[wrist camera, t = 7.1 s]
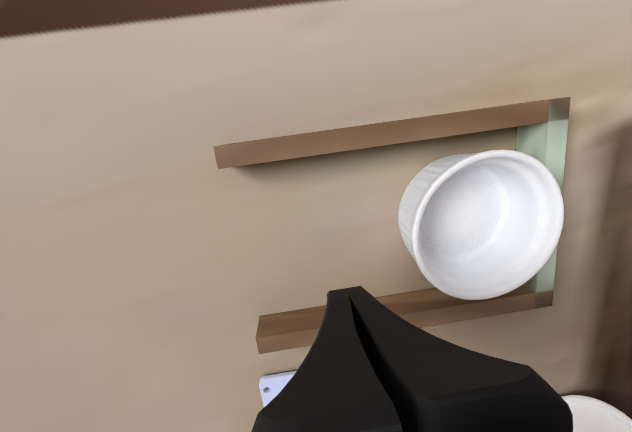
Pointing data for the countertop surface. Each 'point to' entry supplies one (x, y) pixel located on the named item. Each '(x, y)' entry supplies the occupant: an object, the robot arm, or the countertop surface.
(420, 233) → the ramekin
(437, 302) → the channel
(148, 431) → the countertop surface
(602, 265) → the countertop surface
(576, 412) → the spread jar
